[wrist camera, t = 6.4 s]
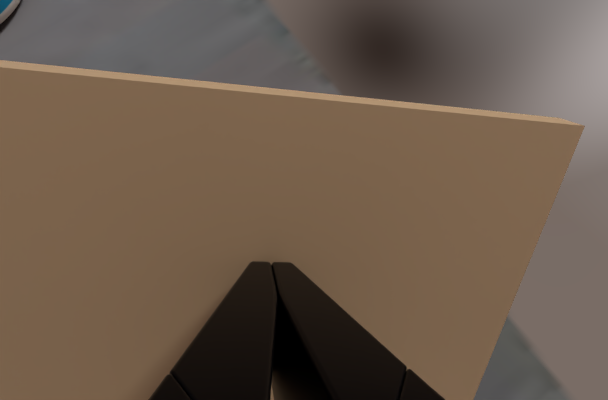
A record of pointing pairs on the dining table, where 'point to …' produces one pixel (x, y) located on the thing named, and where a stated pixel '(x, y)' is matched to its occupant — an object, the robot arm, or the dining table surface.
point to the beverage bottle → (7, 8)
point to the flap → (253, 220)
